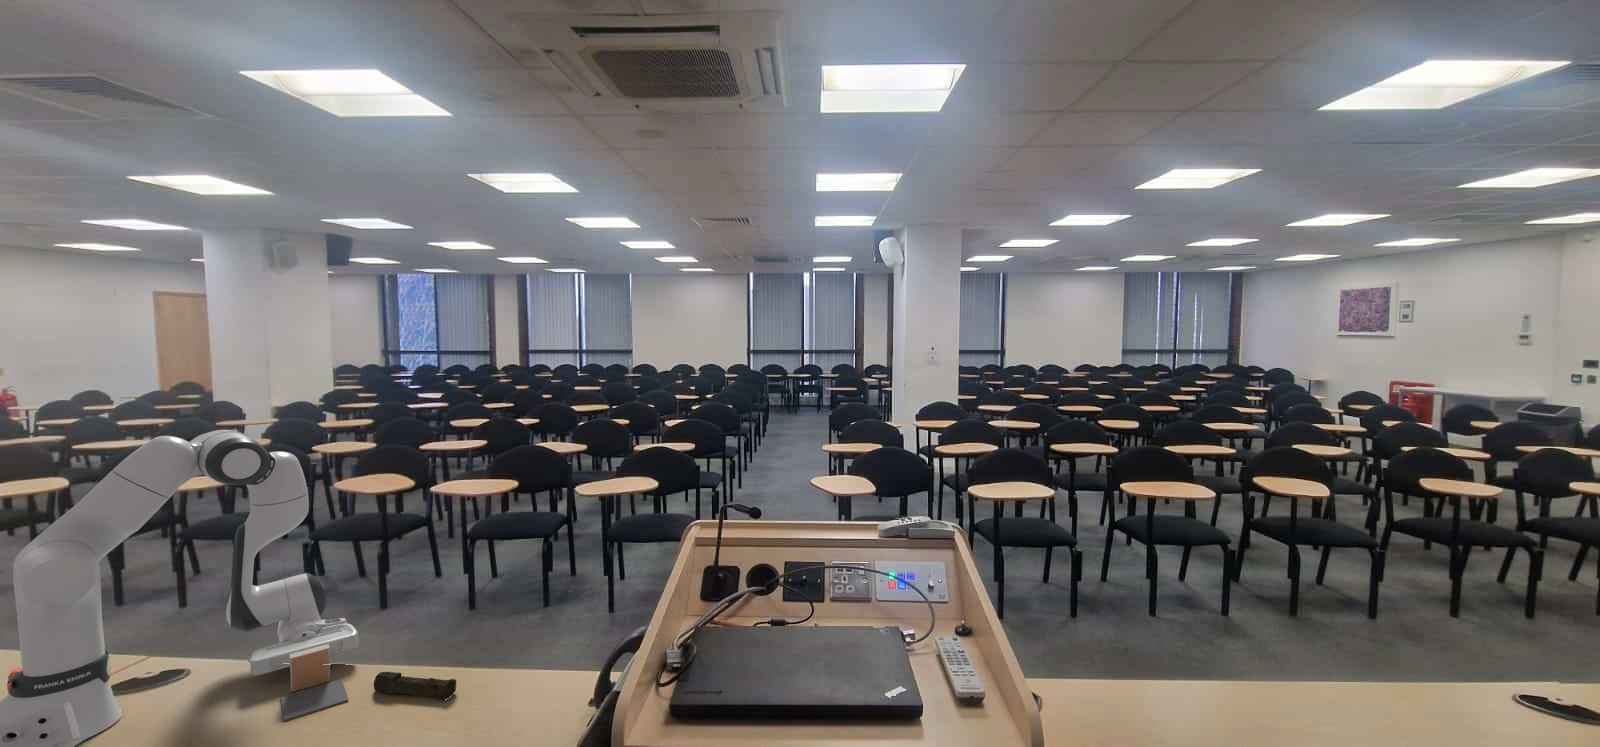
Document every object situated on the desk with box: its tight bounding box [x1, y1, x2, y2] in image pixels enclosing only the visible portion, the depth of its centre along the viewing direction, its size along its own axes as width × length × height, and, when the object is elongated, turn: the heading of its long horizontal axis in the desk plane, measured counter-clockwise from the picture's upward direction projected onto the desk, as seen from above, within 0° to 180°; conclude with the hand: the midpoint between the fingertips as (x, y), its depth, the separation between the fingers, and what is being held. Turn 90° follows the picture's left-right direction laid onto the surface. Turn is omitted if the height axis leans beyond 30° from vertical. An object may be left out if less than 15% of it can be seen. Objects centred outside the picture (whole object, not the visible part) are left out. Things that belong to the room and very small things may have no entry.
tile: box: [289, 644, 331, 692], centre depth 147 cm, size 7×2×10 cm, turn 131°
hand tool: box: [373, 671, 457, 701], centre depth 145 cm, size 19×4×5 cm, turn 80°
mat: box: [280, 678, 349, 722], centre depth 143 cm, size 11×11×1 cm
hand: (309, 662), depth 148 cm, fingers closed
